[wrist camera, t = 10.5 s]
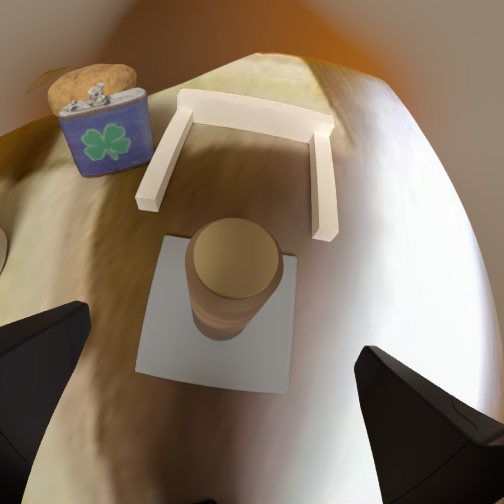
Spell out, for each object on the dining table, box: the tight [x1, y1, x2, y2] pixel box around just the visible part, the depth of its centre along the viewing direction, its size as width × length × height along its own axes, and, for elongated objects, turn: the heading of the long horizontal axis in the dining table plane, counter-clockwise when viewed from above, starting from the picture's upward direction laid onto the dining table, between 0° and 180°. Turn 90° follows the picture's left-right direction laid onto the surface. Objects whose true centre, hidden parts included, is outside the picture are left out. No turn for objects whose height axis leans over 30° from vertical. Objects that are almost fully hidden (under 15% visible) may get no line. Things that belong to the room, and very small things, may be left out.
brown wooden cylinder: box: [185, 218, 284, 341], centre depth 16 cm, size 4×4×11 cm
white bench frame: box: [135, 88, 339, 242], centre depth 27 cm, size 16×19×4 cm
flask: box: [58, 83, 155, 178], centre depth 22 cm, size 9×3×11 cm, turn 105°
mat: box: [135, 235, 297, 394], centre depth 21 cm, size 12×12×1 cm
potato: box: [48, 64, 137, 117], centre depth 26 cm, size 10×14×8 cm
